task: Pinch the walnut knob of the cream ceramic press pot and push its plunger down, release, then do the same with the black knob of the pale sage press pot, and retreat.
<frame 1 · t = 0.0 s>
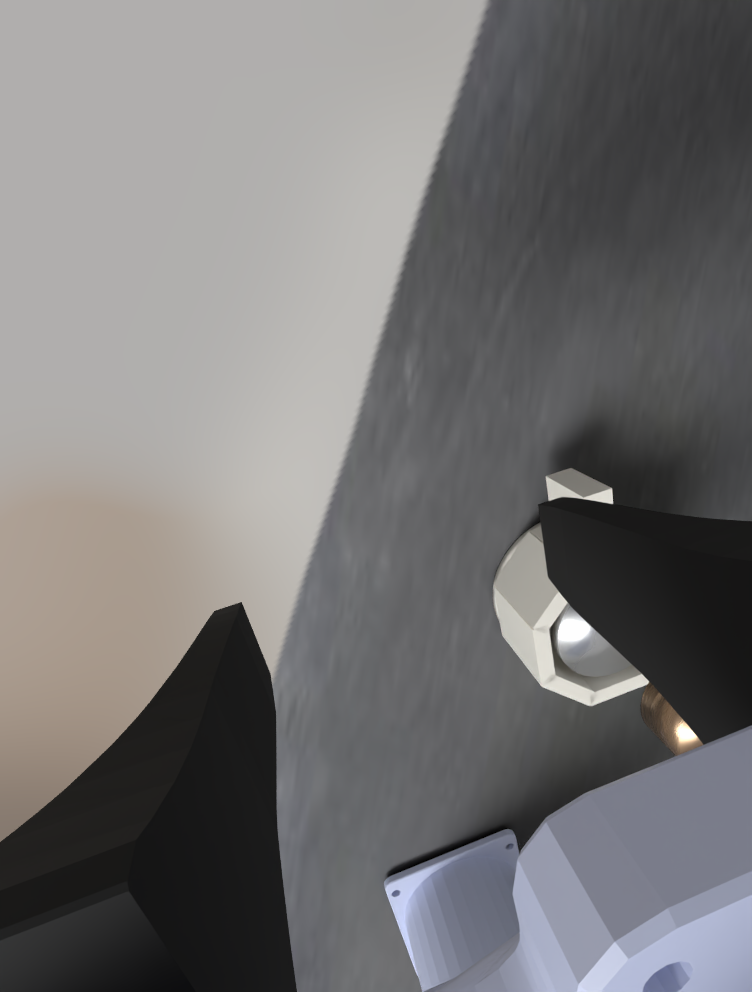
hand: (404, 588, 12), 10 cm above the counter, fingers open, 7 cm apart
cream press plunger: (656, 666, 20), point 7 cm above the counter, slide at 0.0 cm
cream press pot: (560, 581, 26), on the counter
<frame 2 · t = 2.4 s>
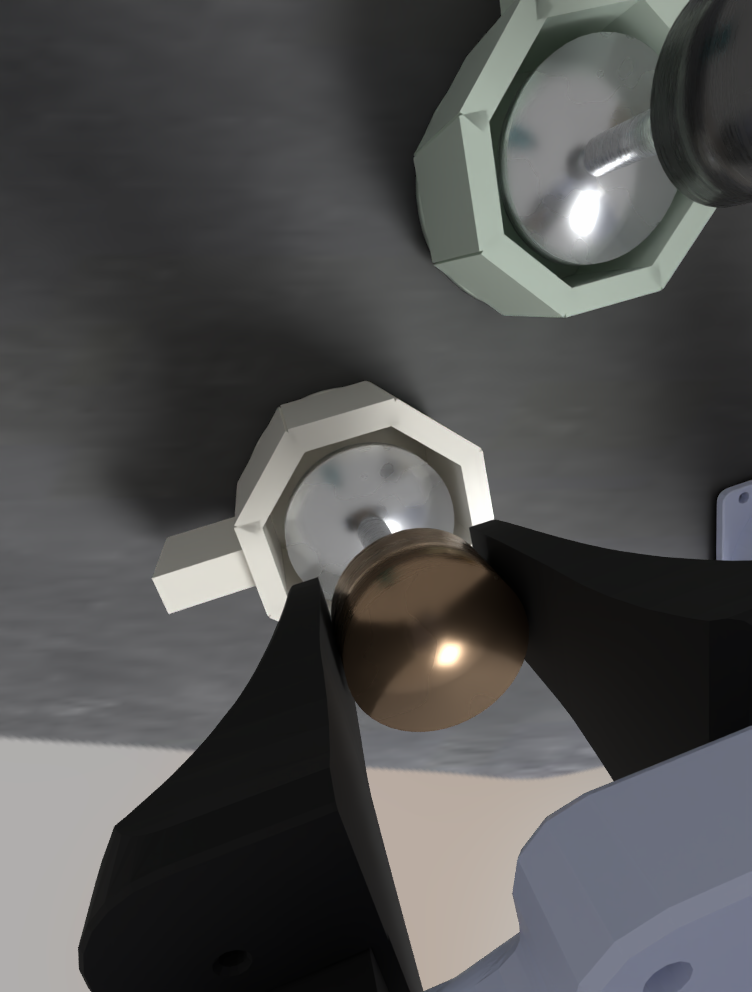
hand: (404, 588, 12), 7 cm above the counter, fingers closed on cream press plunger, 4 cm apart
sage press plunger: (678, 121, 11), point 7 cm above the counter, slide at 0.0 cm
cream press plunger: (395, 573, 13), point 7 cm above the counter, slide at 0.0 cm, touching gripper
cream press pot: (349, 487, 19), on the counter
sage press pot: (523, 188, 17), on the counter
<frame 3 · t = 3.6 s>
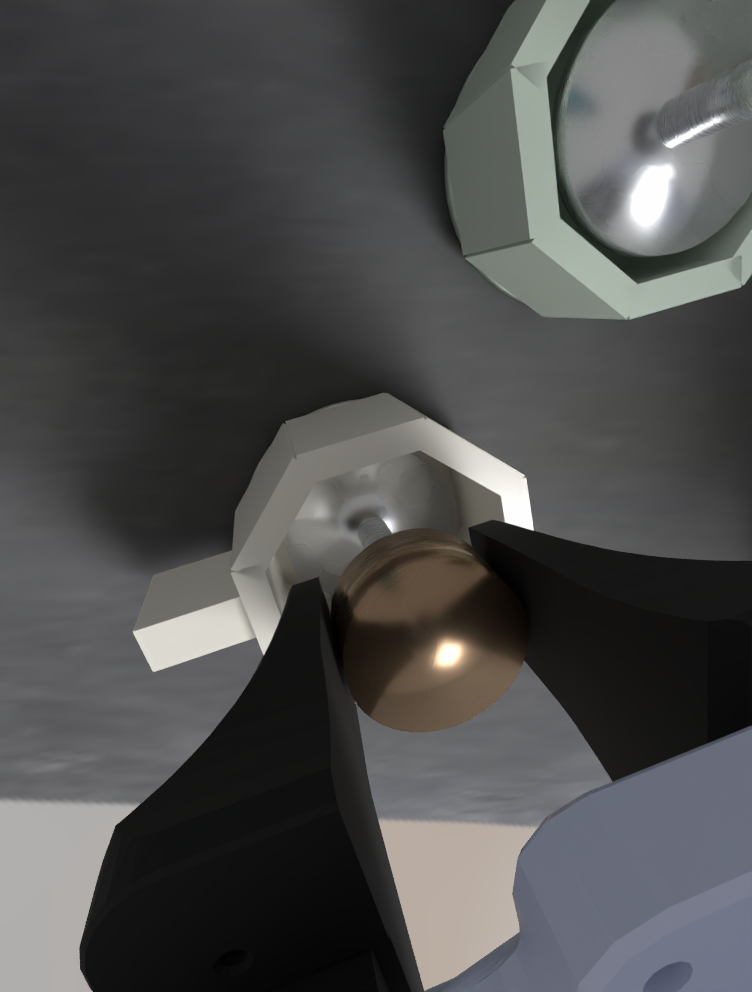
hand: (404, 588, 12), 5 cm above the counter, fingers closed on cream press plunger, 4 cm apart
cream press plunger: (395, 573, 13), point 4 cm above the counter, slide at 2.6 cm, touching gripper
cream press pot: (363, 514, 17), on the counter
sage press pot: (568, 169, 15), on the counter
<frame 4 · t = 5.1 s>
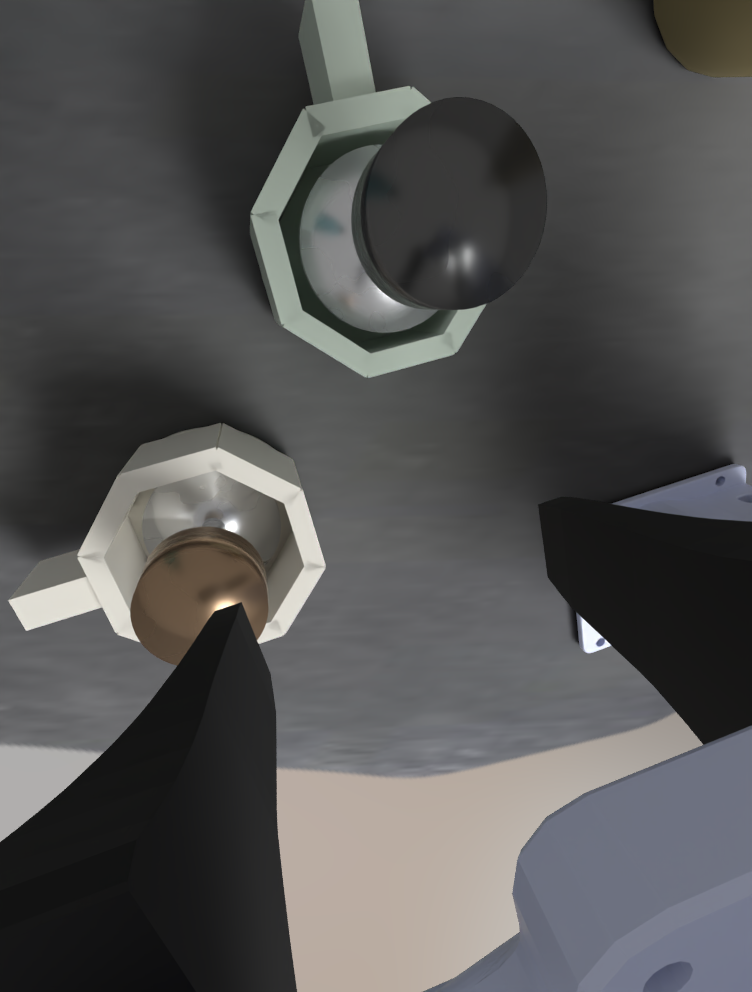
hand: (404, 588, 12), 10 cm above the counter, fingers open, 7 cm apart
sage press plunger: (411, 232, 13), point 7 cm above the counter, slide at 0.0 cm
cream press plunger: (209, 560, 17), point 4 cm above the counter, slide at 2.6 cm
cream press pot: (215, 515, 21), on the counter
sage press pot: (359, 255, 19), on the counter
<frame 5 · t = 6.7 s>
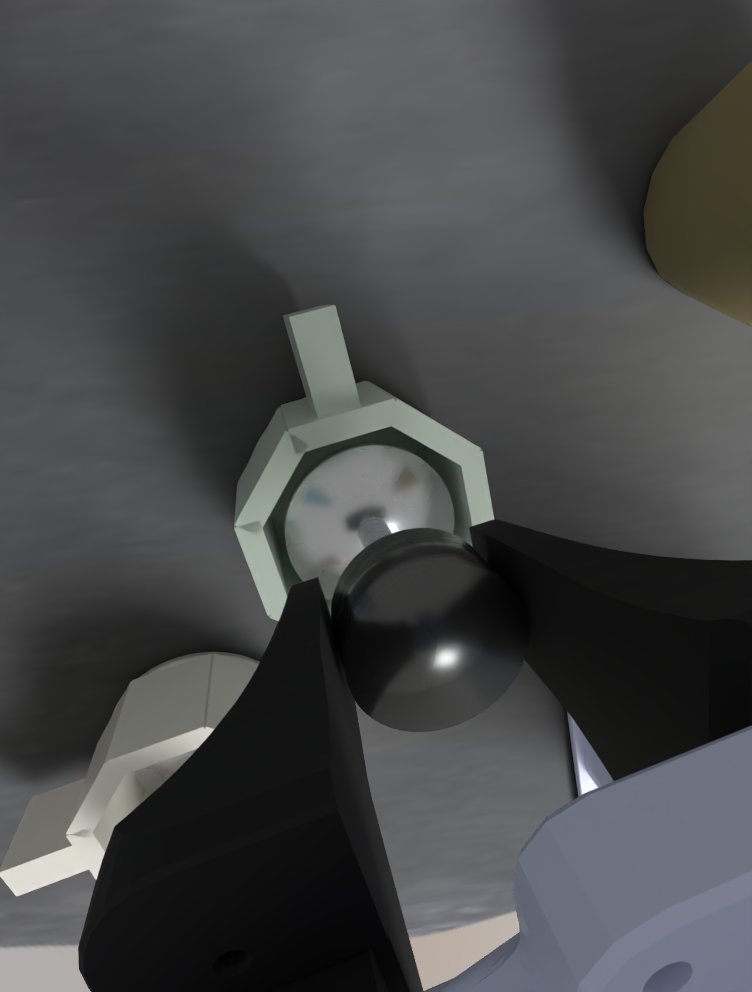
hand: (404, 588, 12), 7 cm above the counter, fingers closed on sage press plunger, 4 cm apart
squeeze bottle: (708, 207, 19), on the counter
sage press plunger: (396, 573, 13), point 7 cm above the counter, slide at 0.0 cm, touching gripper
cream press plunger: (199, 819, 17), point 4 cm above the counter, slide at 2.6 cm
cream press pot: (208, 728, 21), on the counter
sage press pot: (349, 487, 19), on the counter
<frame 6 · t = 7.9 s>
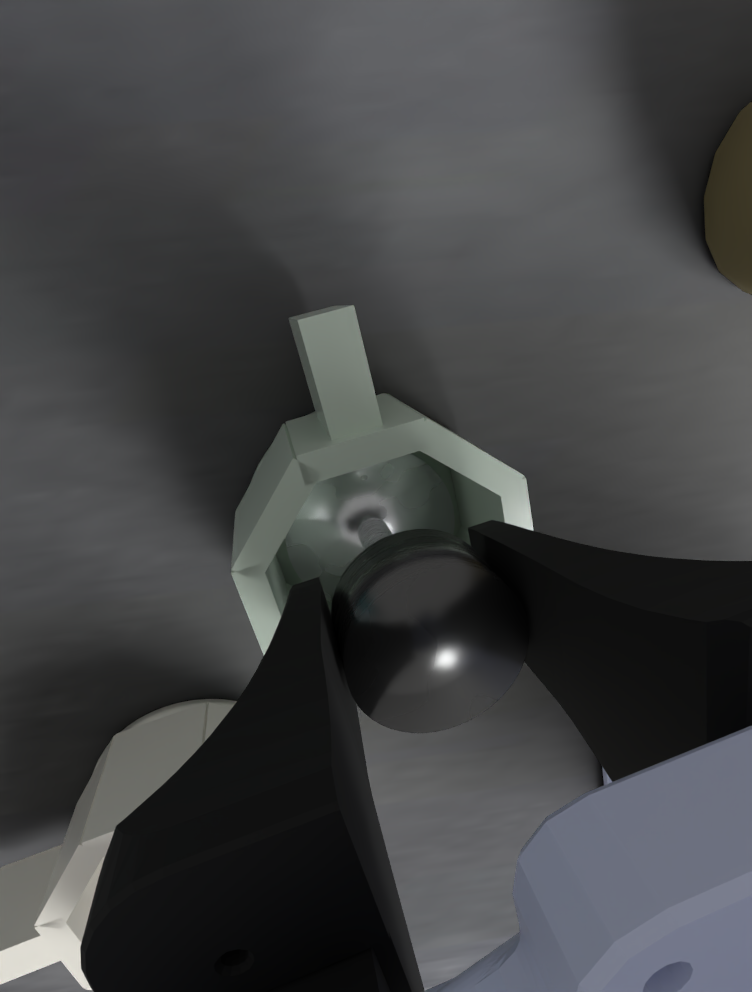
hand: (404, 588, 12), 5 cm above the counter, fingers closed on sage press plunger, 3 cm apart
sage press plunger: (396, 574, 13), point 4 cm above the counter, slide at 2.6 cm, touching gripper
cream press pot: (203, 783, 19), on the counter
sage press pot: (363, 514, 17), on the counter
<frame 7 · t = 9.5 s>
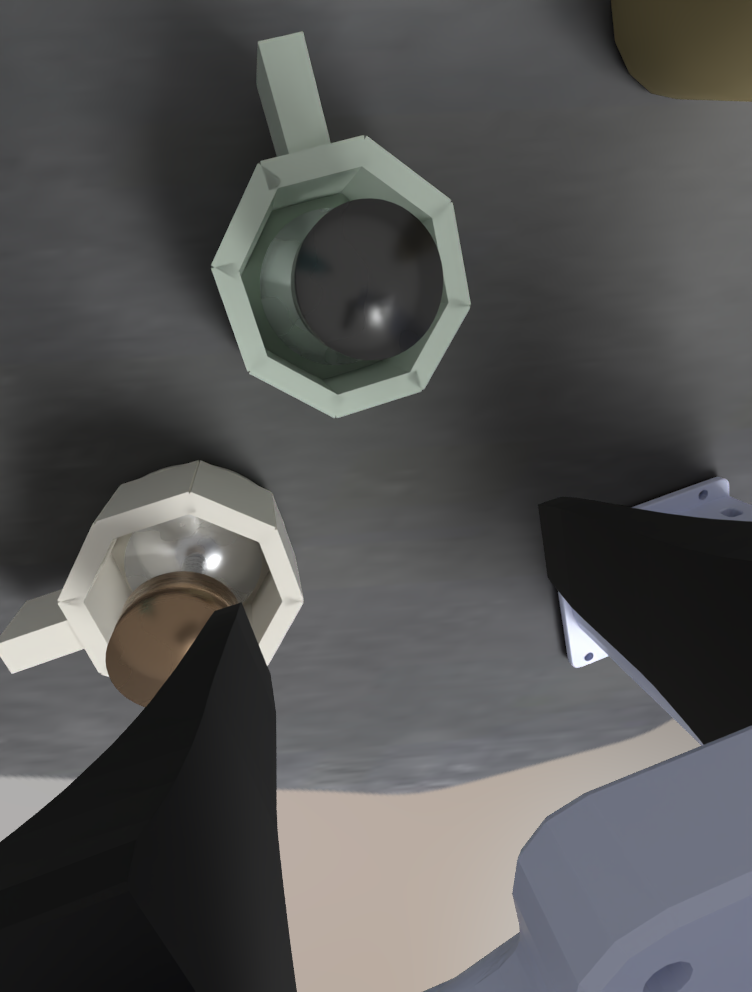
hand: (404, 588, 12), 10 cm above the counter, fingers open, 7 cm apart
squeeze bottle: (676, 5, 19), on the counter
sage press plunger: (348, 287, 16), point 4 cm above the counter, slide at 2.6 cm
cream press plunger: (187, 599, 18), point 4 cm above the counter, slide at 2.6 cm
cream press pot: (198, 548, 21), on the counter
sage press pot: (328, 291, 19), on the counter
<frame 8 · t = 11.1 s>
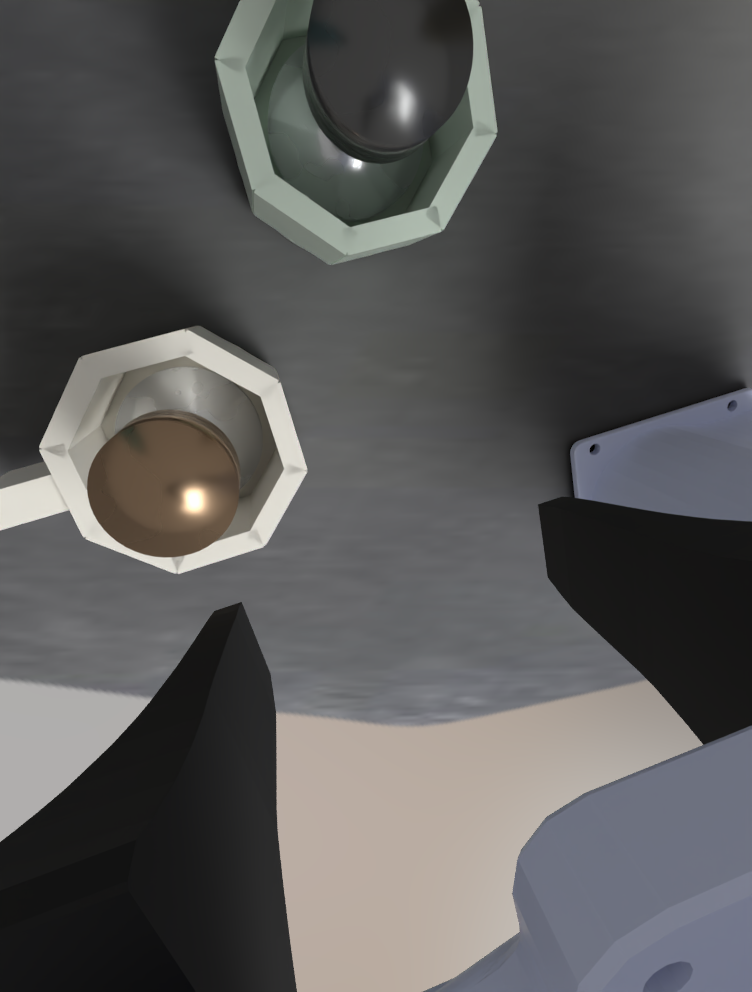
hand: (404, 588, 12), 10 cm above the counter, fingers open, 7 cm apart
sage press plunger: (364, 100, 14), point 4 cm above the counter, slide at 2.6 cm
cream press plunger: (181, 459, 16), point 4 cm above the counter, slide at 2.6 cm
cream press pot: (195, 431, 20), on the counter
sage press pot: (341, 143, 18), on the counter
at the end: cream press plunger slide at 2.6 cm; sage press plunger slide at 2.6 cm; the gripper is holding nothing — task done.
